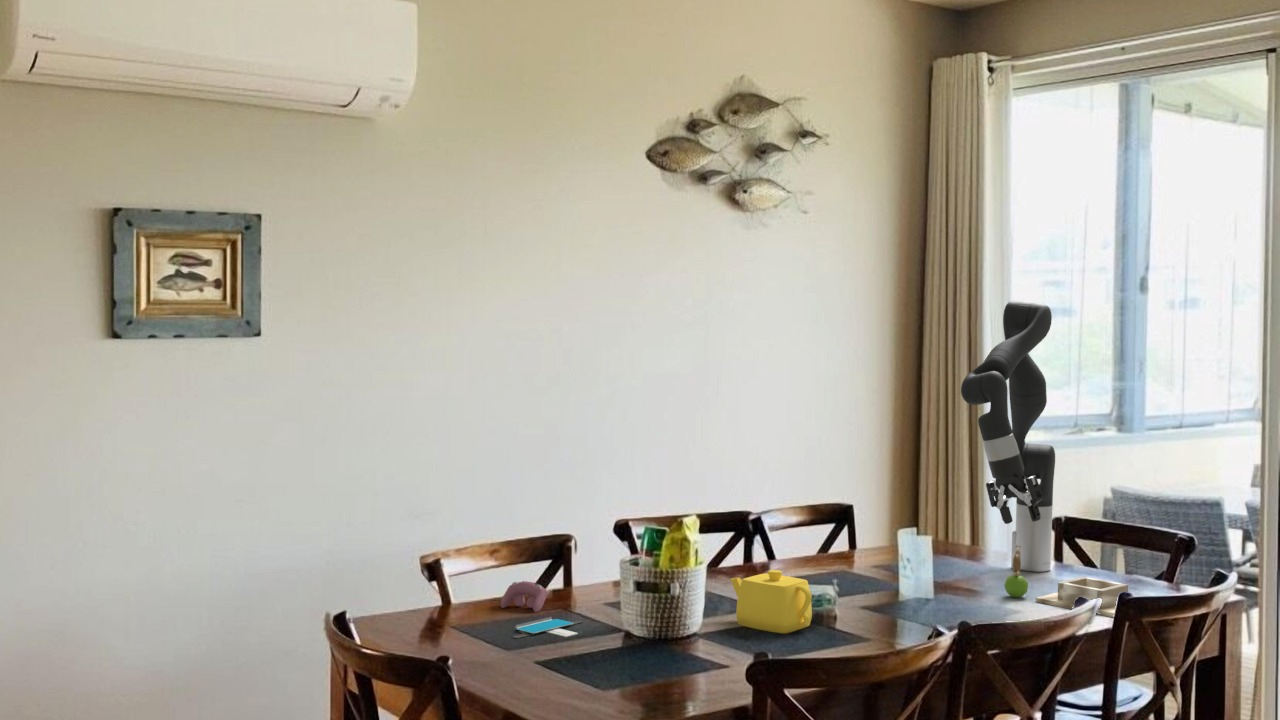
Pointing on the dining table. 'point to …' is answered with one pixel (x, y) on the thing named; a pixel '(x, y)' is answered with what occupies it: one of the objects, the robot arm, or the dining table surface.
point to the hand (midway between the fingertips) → (1022, 521)
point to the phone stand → (545, 627)
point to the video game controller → (525, 588)
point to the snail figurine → (1016, 579)
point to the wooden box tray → (1086, 593)
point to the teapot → (773, 602)
